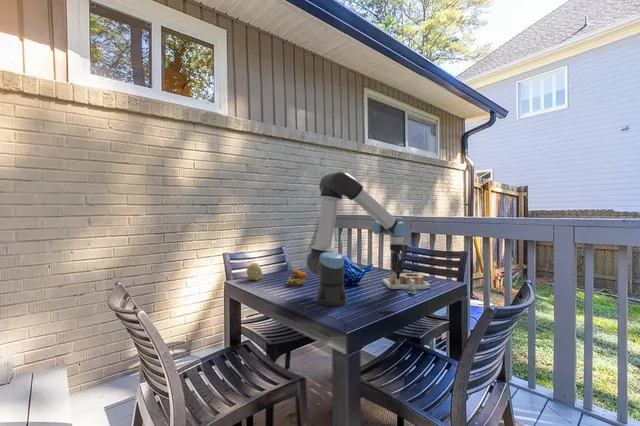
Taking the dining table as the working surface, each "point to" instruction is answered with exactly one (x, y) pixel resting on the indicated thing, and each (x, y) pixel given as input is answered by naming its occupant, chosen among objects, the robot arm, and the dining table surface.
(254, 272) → the pale yellow lumpy ball
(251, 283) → the dining table surface
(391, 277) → the collar
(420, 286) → the tray
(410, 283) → the post
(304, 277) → the cheeseburger
